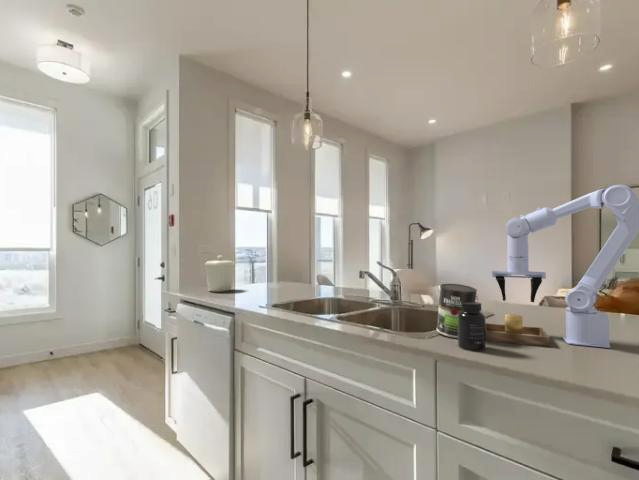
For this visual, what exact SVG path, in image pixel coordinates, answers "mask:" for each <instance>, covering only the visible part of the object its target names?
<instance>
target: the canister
mask: <svg viewBox="0 0 639 480" xmlns="http://www.w3.org/2000/svg"><path fill="white" fill-rule="evenodd" d="M216 259H217V260H215V259H214V260H208V261H206V262H205V263H203V265H204V266H205V274H206V275H205V278H206V285H207V289H208V291H210V292H212V293H215V292H216V293H222V292H223V293H224V292H229V291H231V290H232V287H233V281H234V274H235V265H236V262H234V260H227V259H224V256H223V255H220V254H219V255H217V256H216Z"/></svg>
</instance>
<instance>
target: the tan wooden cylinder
mask: <svg viewBox="0 0 639 480" xmlns="http://www.w3.org/2000/svg"><path fill="white" fill-rule="evenodd" d="M523 320H524V319H523V316H522V315H519V314H509V313H508V314H504V325H505V333H513V334H522V326H523Z"/></svg>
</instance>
